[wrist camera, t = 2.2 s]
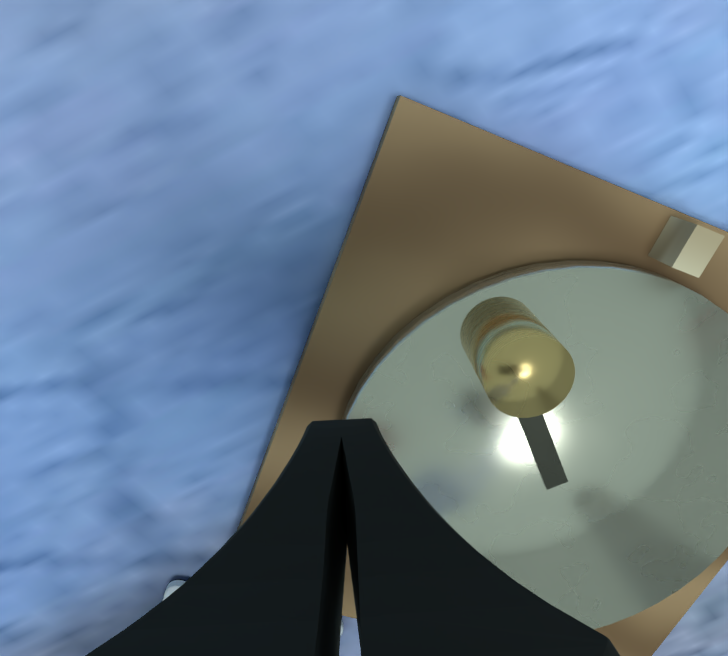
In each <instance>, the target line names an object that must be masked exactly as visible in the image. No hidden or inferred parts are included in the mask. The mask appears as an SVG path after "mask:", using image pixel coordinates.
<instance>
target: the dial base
mask: <svg viewBox="0 0 728 656" xmlns="http://www.w3.org/2000/svg"><path fill="white" fill-rule="evenodd" d="M565 260H590V261H606V262H612V263H618V264H625V265H631V266H634V267H637V268H641V269H644V270H647V271H650V272H654V273H657V274H660V275H662V276H664V277H666V278H668V279H670V280H672V281H674V282H676V283H678V284H681V285H683V286H685V287H687V288H688V289H690V290H692V291H694V292H696V293H698V294H700V295H702V296H704V297H705V298H706V299H708V300H709V301H711V302H712V303H714V304H715V305H716V306H718V307H719V308H721V309H722V310H724V311H725V312H726V313H727V314H728V232H726V231H724V230H721V229H719V228H717V227H714V226H712V225H710V224H707V223H705V222H702V221H700V220H698V219H695V218H693V217H690V216H688V215H686V214H683V213H681V212H678V211H676V210H674V209H671V208H669V207H666V206H664V205H662V204H659V203H657V202H654V201H652V200H650V199H647V198H645V197H642V196H640V195H638V194H635V193H633V192H631V191H628V190H626V189H623V188H621V187H619V186H616V185H614V184H611V183H609V182H607V181H604V180H602V179H599V178H597V177H595V176H592V175H590V174H587V173H585V172H583V171H580V170H578V169H575V168H573V167H571V166H568V165H566V164H563V163H561V162H559V161H556V160H554V159H552V158H549V157H547V156H544V155H542V154H540V153H537V152H535V151H532V150H530V149H528V148H525V147H523V146H520V145H518V144H516V143H513V142H511V141H508V140H506V139H504V138H501V137H499V136H496V135H494V134H492V133H489V132H487V131H484V130H482V129H480V128H477V127H475V126H473V125H470V124H468V123H465V122H463V121H461V120H458V119H456V118H453V117H451V116H449V115H446V114H444V113H441V112H439V111H437V110H434V109H432V108H429V107H427V106H425V105H422V104H420V103H417V102H415V101H413V100H410V99H408V98H405V97H403V96H397V98H396V101H395V103H394V106H393V109H392V112H391V114H390V117H389V120H388V122H387V125H386V128H385V130H384V133H383V136H382V139H381V141H380V144H379V147H378V149H377V152H376V155H375V158H374V160H373V163H372V166H371V168H370V171H369V174H368V177H367V179H366V182H365V185H364V187H363V190H362V193H361V196H360V198H359V201H358V204H357V206H356V209H355V212H354V214H353V217H352V220H351V223H350V225H349V228H348V231H347V233H346V236H345V239H344V242H343V244H342V247H341V250H340V252H339V255H338V258H337V261H336V263H335V266H334V269H333V271H332V274H331V277H330V280H329V282H328V285H327V288H326V290H325V293H324V296H323V298H322V301H321V304H320V307H319V309H318V312H317V315H316V317H315V320H314V323H313V326H312V328H311V331H310V334H309V336H308V339H307V342H306V345H305V347H304V350H303V353H302V355H301V358H300V361H299V364H298V366H297V369H296V372H295V374H294V377H293V380H292V382H291V385H290V388H289V391H288V393H287V396H286V399H285V401H284V404H283V407H282V410H281V412H280V415H279V418H278V420H277V423H276V426H275V429H274V431H273V434H272V437H271V439H270V442H269V445H268V448H267V450H266V453H265V456H264V458H263V461H262V464H261V466H260V469H259V472H258V475H257V477H256V480H255V483H254V485H253V488H252V491H251V494H250V496H249V499H248V502H247V504H246V507H245V510H244V513H243V515H242V518H241V521H240V523H239V526H238V529H239V528H240V527H241V526H242V525H243V523H244V522H245V521H246V520H247V519H248V517H249V516H250V515H251V514H252V513H253V511H254V510H255V509H256V507H257V506H258V505H259V503H260V502H261V501H262V499H263V498H264V497H265V495H266V494H267V493H268V491H269V490H270V489H271V487H272V486H273V485H274V483H275V482H276V480H277V479H278V477H279V476H280V474H281V472H282V471H283V469H284V468H285V466H286V465H287V463H288V462H289V460H290V458H291V457H292V455H293V453H294V451H295V450H296V448H297V446H298V444H299V442H300V440H301V439H302V436H303V434H304V432H305V430H306V428H307V426H308V425H309V424H310V423H311V422H312V421H322V420H342V419H343V416H344V413H345V410H346V407H347V404H348V402H349V400H350V398H351V396H352V394H353V392H354V390H355V388H356V386H357V384H358V382H359V380H360V379H361V377H362V376H363V374H364V373H365V371H366V370H367V369H368V367H369V366H370V364H371V363H372V361H373V360H374V358H375V357H376V356H377V355H378V354H379V352H380V351H381V350H382V349H383V348H384V347H385V346H386V345H387V344H388V342H389V341H390V340H391V339H392V338H393V337H394V336H395V335H396V334H397V333H398V332H399V331H400V330H402V329H403V328H404V327H405V326H406V325H407V324H408V323H410V322H411V321H412V320H413V319H414V318H415V317H417V316H418V315H419V314H420V313H422V312H423V311H425V310H426V309H428V308H429V307H431V306H432V305H434V304H435V303H437V302H438V301H440V300H441V299H443V298H444V297H446V296H448V295H450V294H452V293H454V292H456V291H458V290H460V289H462V288H464V287H466V286H468V285H470V284H472V283H474V282H476V281H479V280H482V279H484V278H487V277H490V276H492V275H495V274H498V273H501V272H503V271H507V270H511V269H515V268H520V267H524V266H528V265H533V264H537V263H546V262H555V261H565ZM238 529H237V530H238ZM727 560H728V547H727V548H726V549H725V550H724V551H723V553H722V554H721V555H720V556H719V557H718V558H717V559H716V560H715V561H714V562H713V563H711V564H710V565H709V566H708V567H707V568H706V569H705V570H704V571H703V572H702V573H701V574H699V575H698V576H697V577H695V578H694V579H693V580H692V581H690V582H689V583H688V584H686V585H685V586H684V587H682V588H681V589H680V590H678V591H676V592H675V593H673V594H672V595H670V596H668V597H667V598H665V599H664V600H662V601H660V602H659V603H657V604H655V605H653V606H651V607H649V608H647V609H645V610H643V611H641V612H639V613H637V614H635V615H633V616H630V617H628V618H625V619H623V620H620V621H618V622H615V623H613V624H610V625H606V626H603V627H600V628H596V629H594V630H596V631H598V632H599V633H601V634H603V635H604V636H606V637H608V638H609V639H610V641H611V642H612V644H613V645H614V647H615V648H616V650H617V651H618V653H619V654H620V656H652V655H653V653H654V652H655V651H656V650H657V648H658V647H659V646H660V645H661V643H662V642H663V641H664V640H665V638H666V637H667V636H668V634H669V633H670V632H671V631H672V629H673V628H674V627H675V626H676V624H677V623H678V622H679V621H680V619H681V618H682V617H683V616H684V614H685V613H686V612H687V611H688V609H689V608H690V607H691V605H692V604H693V603H694V602H695V600H696V599H697V598H698V597H699V595H700V594H701V593H702V592H703V590H704V589H705V588H706V587H707V585H708V584H709V583H710V582H711V580H712V579H713V578H714V577H715V575H716V574H717V573H718V571H719V570H720V569H721V568H722V566H723V565H724V564H725V563H726V561H727ZM342 615H343V616H347V617H352V618H356V619H357V616H356V609H355V601H354V593H353V586H352V578H351V570H350V562H349V554H348V547H347V555H346V568H345V581H344V594H343V607H342Z"/></svg>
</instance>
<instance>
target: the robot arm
mask: <svg viewBox="0 0 728 656" xmlns="http://www.w3.org/2000/svg"><path fill="white" fill-rule="evenodd" d="M347 547H348V554H349V562H350V570H351V578H352V586H353V593H354V601H355V609H356V616H357V624H358V632H359V639H360V647H361V656H620V654H619V653H618V651H617V650H616V648H615V647H614V645H613V644H612V642H611V641H610V639H609V638H608V637H606V636H604V635H603V634H601V633H599V632H598V631H596V630H594V629H592V628H591V627H589V626H587V625H585V624H584V623H582V622H580V621H578V620H577V619H575V618H573V617H572V616H570V615H568V614H566V613H565V612H563V611H561V610H559V609H558V608H556V607H554V606H552V605H551V604H549V603H548V602H546V601H544V600H543V599H541V598H540V597H538V596H537V595H536V594H534V593H533V592H531V591H530V590H528V589H527V588H525V587H524V586H522V585H521V584H519V583H518V582H516V581H515V580H513V579H512V578H511V577H509V576H508V575H507V574H506V573H504V572H503V571H502V570H501V569H499V568H498V567H497V566H496V565H494V564H493V563H492V562H490V561H489V560H488V559H487V558H485V557H484V556H483V555H482V554H480V553H479V552H478V551H477V550H476V549H475V548H474V547H472V546H471V545H470V544H469V543H468V542H467V541H466V540H465V539H464V538H463V537H461V536H460V535H459V534H458V533H457V532H456V531H455V530H454V529H453V528H452V527H451V526H450V525H449V524H448V523H447V522H446V521H445V520H444V519H443V518H442V516H441V515H440V514H439V513H438V512H437V511H436V510H435V509H434V508H433V507H432V505H431V504H430V503H429V502H428V501H427V500H426V498H425V497H424V496H423V495H422V494H421V492H420V491H419V490H418V489H417V487H416V486H415V485H414V484H413V482H412V481H411V480H410V478H409V477H408V475H407V474H406V473H405V471H404V470H403V468H402V467H401V466H400V464H399V463H398V461H397V460H396V458H395V457H394V455H393V454H392V452H391V450H390V449H389V447H388V445H387V444H386V442H385V440H384V438H383V436H382V434H381V432H380V430H379V428H378V425H377V423H376V422H375V421H374V420H373V419H372V418H363V419H343V420H322V421H312V422H311V423H310V424H309V425H308V426H307V428H306V430H305V432H304V434H303V436H302V439H301V440H300V442H299V444H298V446H297V448H296V450H295V451H294V453H293V455H292V457H291V458H290V460H289V462H288V463H287V465H286V466H285V468H284V469H283V471H282V472H281V474H280V476H279V477H278V479H277V480H276V482H275V483H274V485H273V486H272V487H271V489H270V490H269V491H268V493H267V494H266V495H265V497H264V498H263V499H262V501H261V502H260V503H259V505H258V506H257V507H256V509H255V510H254V511H253V513H252V514H251V515H250V516H249V517H248V519H247V520H246V521H245V522H244V523H243V525H242V526H241V527H240V528H239V529H238V530H237V532H236V533H235V534H234V535H233V536H232V537H231V538H230V539H229V540H228V541H227V542H226V543H225V545H224V546H223V547H222V548H221V549H220V550H219V551H218V552H217V553H216V554H215V555H214V556H213V557H212V558H211V559H209V560H208V561H207V562H206V563H205V564H204V565H203V566H202V567H201V568H200V569H199V570H198V571H197V572H196V573H195V574H194V575H193V576H192V577H191V578H189V579H188V580H187V581H182V580H175V581H172V582H170V583H169V584H168V586H167V588H166V591H165V594H164V597H163V600H162V602H161V603H159V604H158V605H157V606H156V607H154V608H153V609H152V610H150V611H149V612H148V613H146V614H145V615H144V616H142V617H141V618H140V619H138V620H137V621H136V622H134V623H133V624H132V625H130V626H129V627H127V628H126V629H125V630H123V631H122V632H120V633H119V634H117V635H116V636H114V637H113V638H111V639H110V640H108V641H107V642H105V643H104V644H102V645H101V646H99V647H98V648H96V649H95V650H93V651H92V652H90V653H89V654H87V655H86V656H339V645H340V637H341V635H342V633H343V622H342V607H343V594H344V581H345V568H346V555H347Z"/></svg>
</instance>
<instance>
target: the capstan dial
mask: <svg viewBox="0 0 728 656" xmlns="http://www.w3.org/2000/svg"><path fill="white" fill-rule="evenodd" d="M363 418H372V419H373V420H374V421H375V422H376V423H377V425H378V428H379V430H380V432H381V434H382V436H383V438H384V440H385V442H386V444H387V445H388V447H389V449H390V450H391V452H392V454H393V455H394V457H395V458H396V460H397V461H398V463H399V464H400V466H401V467H402V468H403V470H404V471H405V473H406V474H407V475H408V477H409V478H410V480H411V481H412V482H413V484H414V485H415V486H416V487H417V489H418V490H419V491H420V492H421V494H422V495H423V496H424V497H425V498H426V500H427V501H428V502H429V503H430V504H431V505H432V507H433V508H434V509H435V510H436V511H437V512H438V513H439V514H440V515H441V516H442V518H443V519H444V520H445V521H446V522H447V523H448V524H449V525H450V526H451V527H452V528H453V529H454V530H455V531H456V532H457V533H458V534H459V535H460V536H461V537H463V538H464V539H465V540H466V541H467V542H468V543H469V544H470V545H471V546H472V547H474V548H475V549H476V550H477V551H478V552H479V553H480V554H482V555H483V556H484V557H485V558H487V559H488V560H489V561H490V562H492V563H493V564H494V565H496V566H497V567H498V568H499V569H501V570H502V571H503V572H504V573H506V574H507V575H508V576H509V577H511V578H512V579H513V580H515V581H516V582H518V583H519V584H521V585H522V586H524V587H525V588H527V589H528V590H530V591H531V592H533V593H534V594H536V595H537V596H538V597H540V598H541V599H543V600H544V601H546V602H548V603H549V604H551V605H552V606H554V607H556V608H558V609H559V610H561V611H563V612H565V613H566V614H568V615H570V616H572V617H573V618H575V619H577V620H578V621H580V622H582V623H584V624H585V625H587V626H589V627H591V628H592V629H596V628H600V627H603V626H606V625H610V624H613V623H615V622H618V621H620V620H623V619H625V618H628V617H630V616H633V615H635V614H637V613H639V612H641V611H643V610H645V609H647V608H649V607H651V606H653V605H655V604H657V603H659V602H660V601H662V600H664V599H665V598H667V597H668V596H670V595H672V594H673V593H675V592H676V591H678V590H680V589H681V588H682V587H684V586H685V585H686V584H688V583H689V582H690V581H692V580H693V579H694V578H695V577H697V576H698V575H699V574H701V573H702V572H703V571H704V570H705V569H706V568H707V567H708V566H709V565H710V564H711V563H713V562H714V561H715V560H716V559H717V558H718V557H719V556H720V555H721V554H722V553H723V551H724V550H725V549H726V548H727V547H728V314H727V313H726V312H725V311H724V310H722V309H721V308H719V307H718V306H716V305H715V304H714V303H712V302H711V301H709V300H708V299H706V298H705V297H704V296H702V295H700V294H698V293H696V292H694V291H692V290H690V289H688V288H687V287H685V286H683V285H681V284H678V283H676V282H674V281H672V280H670V279H668V278H666V277H664V276H662V275H660V274H657V273H654V272H650V271H647V270H644V269H641V268H637V267H634V266H631V265H625V264H618V263H612V262H606V261H590V260H565V261H555V262H546V263H537V264H533V265H528V266H524V267H520V268H515V269H511V270H507V271H503V272H501V273H498V274H495V275H492V276H490V277H487V278H484V279H482V280H479V281H476V282H474V283H472V284H470V285H468V286H466V287H464V288H462V289H460V290H458V291H456V292H454V293H452V294H450V295H448V296H446V297H444V298H443V299H441V300H440V301H438V302H437V303H435V304H434V305H432V306H431V307H429V308H428V309H426V310H425V311H423V312H422V313H420V314H419V315H418V316H417V317H415V318H414V319H413V320H412V321H411V322H410V323H408V324H407V325H406V326H405V327H404V328H403V329H402V330H400V331H399V332H398V333H397V334H396V335H395V336H394V337H393V338H392V339H391V340H390V341H389V342H388V344H387V345H386V346H385V347H384V348H383V349H382V350H381V351H380V352H379V354H378V355H377V356H376V357H375V358H374V360H373V361H372V363H371V364H370V366H369V367H368V369H367V370H366V371H365V373H364V374H363V376H362V377H361V379H360V380H359V382H358V384H357V386H356V388H355V390H354V392H353V394H352V396H351V398H350V400H349V402H348V404H347V407H346V410H345V413H344V416H343V419H363ZM343 419H342V420H343Z"/></svg>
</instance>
